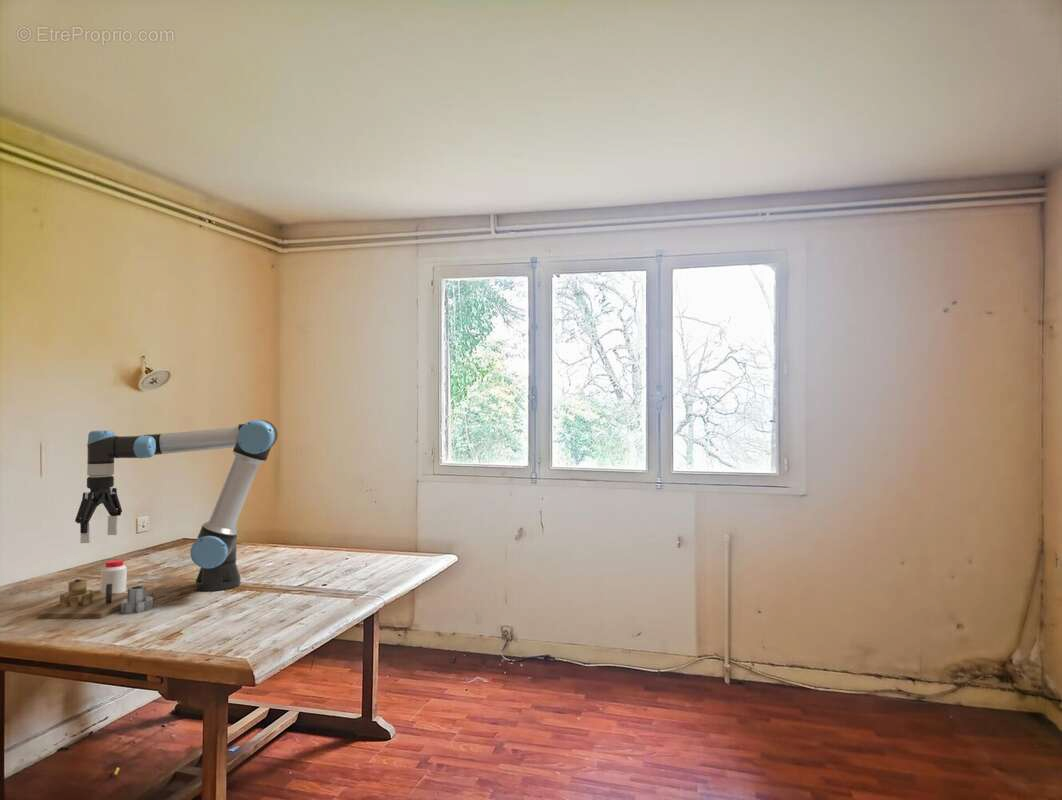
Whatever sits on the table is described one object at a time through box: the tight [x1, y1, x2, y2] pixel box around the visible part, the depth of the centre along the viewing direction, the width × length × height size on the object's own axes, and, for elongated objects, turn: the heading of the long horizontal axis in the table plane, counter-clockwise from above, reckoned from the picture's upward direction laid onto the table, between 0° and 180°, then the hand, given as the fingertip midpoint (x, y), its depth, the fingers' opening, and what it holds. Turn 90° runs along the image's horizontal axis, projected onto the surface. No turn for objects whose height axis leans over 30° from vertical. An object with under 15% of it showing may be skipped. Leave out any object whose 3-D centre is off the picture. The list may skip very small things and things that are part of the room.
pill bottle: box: [99, 558, 128, 593], centre depth 220 cm, size 8×8×11 cm
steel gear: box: [119, 585, 154, 614], centre depth 201 cm, size 9×9×7 cm
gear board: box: [37, 578, 128, 619], centre depth 202 cm, size 19×22×9 cm
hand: (99, 538), depth 208 cm, fingers open, 13 cm apart
